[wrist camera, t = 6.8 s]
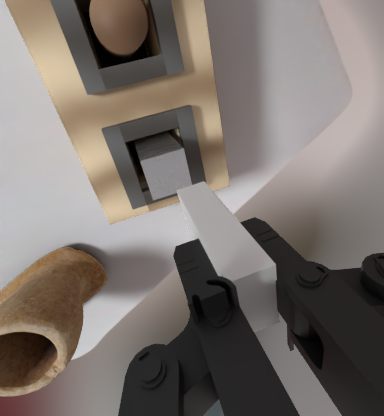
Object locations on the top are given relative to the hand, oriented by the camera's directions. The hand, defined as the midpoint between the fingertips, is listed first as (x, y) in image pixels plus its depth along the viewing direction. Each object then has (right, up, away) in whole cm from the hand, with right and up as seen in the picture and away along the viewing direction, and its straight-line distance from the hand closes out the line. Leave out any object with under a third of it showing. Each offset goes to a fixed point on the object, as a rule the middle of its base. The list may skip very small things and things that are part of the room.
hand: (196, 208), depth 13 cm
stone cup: (-22, -10, +24) cm, 34 cm away
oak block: (-7, +13, +15) cm, 21 cm away
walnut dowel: (-8, +18, +12) cm, 23 cm away
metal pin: (-5, +7, +15) cm, 17 cm away
